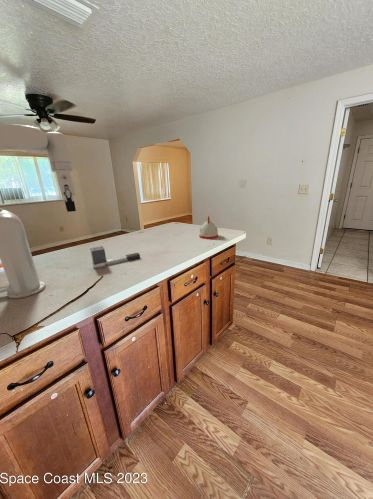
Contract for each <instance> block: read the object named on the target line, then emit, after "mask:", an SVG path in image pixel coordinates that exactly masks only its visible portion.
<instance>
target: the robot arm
mask: <svg viewBox="0 0 373 499" xmlns="http://www.w3.org/2000/svg"><path fill="white" fill-rule="evenodd" d="M3 150H21V151H22V150H24V151H26V152H28V153H29V154H34V155H36V154H37V155H38V154H39V155H41V154H48V160H49V161H48V162H49V165H50V168H51V172H53V173H55V176H56V179H57V180H56V181H57V182H58V187H59V190H60V193H61V195H62V197H64V204H65V209H66V212H67V213H71V212H76V211H77V209H76V204H75V201H74V198H73V197H75V196H76V195H77V194H76V190H75V186H74V181H73V176H72V172H74V170H73V164H72V159H71V154H70V149H69V144H68V139H67V137H66V134H64V133H62V132H57V131H54V132H53V131H50V132H49V131H48V132H44V131H42V130H41V129H40V128H38V127H35V126H32V125H24V124H15V123H3V122H2V123H1V122H0V151H3ZM27 237H28V236H27V232H26V229H25V225H24V224H23V221H22V220H21V219H20V217H19V216H18V215H17V214H15V213H13V212H11V211H9V210H6V209H4V208H1V207H0V262H1V265H2V268H3V271H4V273H5V276H6V279H7V284H5V285H0V294H1V293H5V292H7V293H6V294H7V297H8V298H10V299H21V298H22V299H23V298H26V297H30V296H32V295H35V294H38V293H39V292H41V291H42V290H44V288H46V282H44V281H42V280H40V278H39V274H38V270H37V268H36V264H35V261H34V258H33V255H32V252H31V249H30V245H29V241H28V238H27Z"/></svg>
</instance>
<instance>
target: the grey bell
mask: <svg viewBox="0 0 373 499" xmlns="http://www.w3.org/2000/svg"><path fill="white" fill-rule="evenodd" d="M199 238H200V239H203V240H204V239H205V240H213V239H216V238H219V232H218V226H216V224H214V222H212V221H211V220H210V216H209V215H208V216H207V221H204V223H203V224H202V225H201V226H200V227H199Z"/></svg>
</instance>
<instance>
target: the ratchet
mask: <svg viewBox="0 0 373 499" xmlns="http://www.w3.org/2000/svg"><path fill="white" fill-rule="evenodd" d="M139 259H141V255H140V252H134V253H130V254H129V253H128V254H125V255H124V256H120V257H115V258H110V259H106V261H107V262H104V263H100V264H95V265H94V263H93V261H92V263H91V264H92V268H93V269H95V270H96V269H97V270H98V269H99V270H100V269H104V268H106V267H107V266H110V265H116V264H119V263H124V262H129V261H134V260H139Z"/></svg>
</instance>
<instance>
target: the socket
mask: <svg viewBox="0 0 373 499" xmlns="http://www.w3.org/2000/svg"><path fill="white" fill-rule="evenodd" d="M89 250H90V255H91V256H90V257H91V260H92V262H93V263H94V265H95V264H100V263H104V262H107V261H106V260H107V257H106V251H105V248H104V247H103V246H95V247H91V248H89Z"/></svg>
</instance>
